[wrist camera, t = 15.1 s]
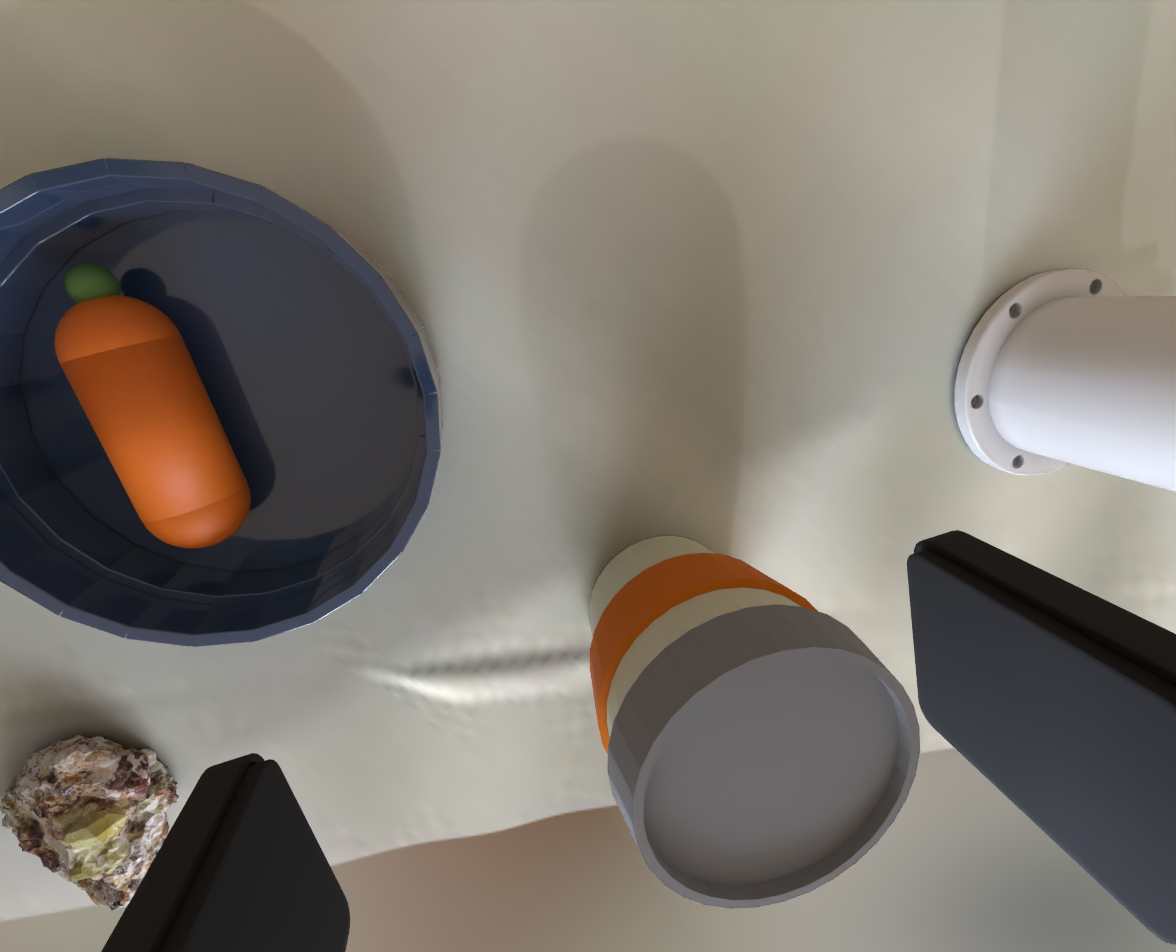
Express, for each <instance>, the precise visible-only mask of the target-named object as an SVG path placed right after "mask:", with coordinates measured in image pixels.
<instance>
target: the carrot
mask: <svg viewBox="0 0 1176 952" xmlns="http://www.w3.org/2000/svg"><path fill="white" fill-rule="evenodd" d="M64 286H65V289H66V292H67V293H68V295H69V296H70V297H71V298H72V299H73V300H74V301H75V302H76V303H78V304H76V305H74V306H73V307H72V308H71V309H70V310H68V311H67V312H66V313H65V315H64V316H63V317H62V319H61V320H60V321H59V324H58V326H57V329H56V331H55V339H54V345H55V352H56V355H57V358H58V361H59V363H60V365H61V367H62V369H63V371H64V373H65V375H66V377H67V379H68V381H69V383H70V385H71V387H72V388H73V390H74V392H75V394H76V396H77V398H78V400H79V402H80V404H81V406H82V408H83V410H84V412H85V413H86V415H87V417H88V419H89V421H90V423H91V425H92V427H93V429H94V431H95V433H96V435H97V437H98V439H99V440H100V442H101V444H102V446H103V448H104V450H105V452H106V454H107V456H108V458H109V460H110V462H111V464H112V465H113V467H114V469H115V471H116V473H117V475H118V477H119V479H120V481H121V483H122V485H123V487H124V489H125V491H126V492H127V494H128V496H129V498H130V500H131V502H132V504H133V506H134V508H135V510H136V512H137V514H138V516H139V517H140V519H141V521H142V523H143V524H144V526H145V527H146V529H147V530H148V531H150V532H151V533H152V534H153V535H154V536H155V537H157V538H158V539H160V540H162V541H163V542H165V543H167V544H170V545H173V546H176V547H182V548H204V547H208V546H212V545H215V544H218V543H220V542H222V541H224V540H226V539H227V538H229V537H231V536H232V535H233V534H234V533H235V532H236V531H237V530H238V529H239V528H240V527H241V526H242V524H243V523H244V521H245V520H246V517H247V515H248V512H249V509H250V503H251V496H250V490H249V486H248V483H247V481H246V478H245V476H244V474H243V472H242V470H241V467H240V465H239V463H238V461H237V458H236V456H235V454H234V452H233V449H232V447H231V445H230V443H229V441H228V438H227V436H226V434H225V432H224V429H223V427H222V425H221V423H220V421H219V418H218V416H217V414H216V412H215V409H214V407H213V405H212V403H211V400H210V398H209V396H208V394H207V392H206V389H205V387H204V385H203V383H202V380H201V378H200V376H199V374H198V372H197V369H196V367H195V365H194V363H193V360H192V358H191V356H190V354H189V351H188V349H187V347H186V345H185V343H184V340H183V338H182V336H181V334H180V332H179V331H178V329H177V327H176V326H175V324H174V323H173V322H172V321H171V320H170V319H169V317H168V316H166V315H165V314H164V313H163V312H161V311H160V310H159V309H157V308H156V307H154V306H152V305H151V304H149V303H147V302H144V301H142V300H139V299H136V298H132V297H128V296H123V295H120V292H121V289H120V284H119V282H118V280H117V278H116V277H115V275H114V274H113V273H112V272H111V271H109V270H108V269H106V268H104V267H102V266H100V265H97V264H92V263H82V264H78V265H75V266H73V267H72V268H70V269H69V270H68V272H67V273H66V275H65V278H64Z"/></svg>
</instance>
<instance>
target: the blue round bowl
mask: <svg viewBox="0 0 1176 952" xmlns="http://www.w3.org/2000/svg"><path fill="white" fill-rule="evenodd" d="M82 263H92V264H97V265H100V266H102V267H104V268H106V269H108V270H109V271H111V272H112V273H113V274H114V275H115V277H116V278H117V280H118V282H119V284H120V289H121V292H120V295H123V296H128V297H132V298H136V299H139V300H142V301H144V302H147V303H149V304H151V305H152V306H154V307H156V308H157V309H159V310H160V311H161V312H163V313H164V314H165V315H166V316H168V317H169V319H170V320H171V321H172V322H173V323H174V324H175V326H176V327H177V329H178V331H179V332H180V334H181V336H182V338H183V340H184V343H185V345H186V347H187V349H188V351H189V354H190V356H191V358H192V360H193V363H194V365H195V367H196V369H197V372H198V374H199V376H200V378H201V380H202V383H203V385H204V387H205V389H206V392H207V394H208V396H209V398H210V400H211V403H212V405H213V407H214V409H215V412H216V414H217V416H218V418H219V421H220V423H221V425H222V427H223V429H224V432H225V434H226V436H227V438H228V441H229V443H230V445H231V447H232V449H233V452H234V454H235V456H236V458H237V461H238V463H239V465H240V467H241V470H242V472H243V474H244V476H245V478H246V481H247V483H248V486H249V490H250V496H251V503H250V509H249V512H248V515H247V517H246V520H245V521H244V523H243V524H242V526H241V527H240V528H239V529H238V530H237V531H236V532H235V533H234V534H233V535H232V536H231V537H229V538H227V539H226V540H224V541H222V542H220V543H218V544H215V545H212V546H208V547H204V548H182V547H176V546H173V545H170V544H167V543H165V542H163V541H162V540H160V539H158V538H157V537H155V536H154V535H153V534H152V533H151V532H150V531H148V530H147V529H146V527H145V526H144V524H143V523H142V521H141V519H140V517H139V516H138V514H137V512H136V510H135V508H134V506H133V504H132V502H131V500H130V498H129V496H128V494H127V492H126V491H125V489H124V487H123V485H122V483H121V481H120V479H119V477H118V475H117V473H116V471H115V469H114V467H113V465H112V464H111V462H110V460H109V458H108V456H107V454H106V452H105V450H104V448H103V446H102V444H101V442H100V440H99V439H98V437H97V435H96V433H95V431H94V429H93V427H92V425H91V423H90V421H89V419H88V417H87V415H86V413H85V412H84V410H83V408H82V406H81V404H80V402H79V400H78V398H77V396H76V394H75V392H74V390H73V388H72V387H71V385H70V383H69V381H68V379H67V377H66V375H65V373H64V371H63V369H62V367H61V365H60V363H59V361H58V358H57V355H56V352H55V345H54V339H55V331H56V329H57V326H58V324H59V321H60V320H61V319H62V317H63V316H64V315H65V313H66V312H67V311H68V310H70V309H71V308H72V307H73V306H74V305H76V304H78V303H76V302H75V301H74V300H73V299H72V298H71V297H70V296H69V295H68V293H67V292H66V289H65V286H64V278H65V275H66V273H67V272H68V270H69V269H70V268H72V267H73V266H75V265H78V264H82ZM442 427H443V422H442V402H441V381H440V375H439V372H438V369H437V365H436V362H435V359H434V356H433V353H432V350H431V347H430V344H429V341H428V338H427V334H426V331H425V329H424V328H423V324H422V323H421V321H420V320H419V318H418V317H417V315H416V313H415V312H414V310H413V309H412V307H411V306H410V304H409V302H408V301H407V299H406V298H405V296H404V294H403V293H402V291H401V290H400V288H399V287H398V285H397V283H396V282H395V281H394V280H393V278H392V277H391V276H390V275H389V274H388V273H387V272H386V271H385V270H384V269H383V268H382V267H381V266H380V265H379V264H378V263H377V262H375V261H374V260H373V259H372V258H371V257H370V256H369V255H368V254H367V253H366V252H365V251H364V250H363V249H362V248H361V247H360V246H359V245H358V244H357V243H356V242H355V241H354V240H353V239H351V238H350V237H349V236H347V235H345V234H344V233H342V232H340V231H338V230H337V229H335V228H333V227H332V226H330V225H328V224H327V223H325V222H323V221H321V220H320V219H318V218H316V217H315V216H313V215H311V214H310V213H308V212H306V211H305V210H303V209H301V208H299V207H298V206H296V205H294V204H293V203H291V202H289V201H287V200H286V199H284V198H282V197H280V196H279V195H277V194H275V193H274V192H272V191H270V190H268V189H267V188H265V187H263V186H261V185H258V184H254V183H251V182H248V181H245V180H241V179H238V178H235V177H232V176H229V175H225V174H222V173H219V172H216V171H212V170H209V169H206V168H203V167H199V166H196V165H193V164H190V163H184V162H172V161H154V160H136V159H118V158H106V159H104V158H102V159H97V160H92V161H88V162H83V163H78V164H74V165H69V166H64V167H60V168H55V169H50V170H46V171H41V172H36V173H32V174H29V176H28V175H26V176H24V177H22V178H20V179H19V180H17V181H15V182H13V183H11V184H10V185H8V186H6V187H4V188H3V189H1V190H0V581H1V582H3V583H5V584H6V585H8V586H10V587H11V588H13V589H15V590H16V591H18V592H20V593H21V594H23V595H25V596H27V597H28V598H30V599H32V600H33V601H35V602H37V603H38V604H40V605H42V606H43V607H45V608H47V609H48V610H50V611H52V612H53V613H55V614H57V615H61V617H64V618H67V619H70V620H72V621H75V622H78V623H81V624H84V625H87V626H90V627H93V628H96V629H99V630H102V631H105V632H108V633H111V634H114V635H117V636H120V637H123V638H127V639H133V640H142V641H150V642H158V643H166V644H174V645H182V646H193V647H197V646H208V645H220V644H231V643H243V642H254V641H258V640H261V639H265V638H268V637H271V636H274V635H277V634H280V633H284V632H287V631H290V630H293V629H296V628H299V627H302V626H306V625H309V624H312V623H314V622H316V621H318V620H319V619H321V618H323V617H324V616H326V615H328V614H329V613H331V612H333V611H334V610H336V609H338V608H339V607H341V606H343V605H344V604H346V603H348V602H349V601H351V600H353V599H354V598H356V597H358V596H359V595H361V594H362V593H363V592H365V590H366V589H367V588H368V587H369V586H370V585H371V584H372V583H373V582H374V581H375V580H376V579H377V578H378V577H379V576H380V575H381V574H382V573H383V572H384V571H385V570H386V569H387V568H388V567H389V566H390V565H391V564H392V563H393V562H394V561H395V560H396V559H397V558H398V557H399V556H400V555H401V553H402V552H403V550H404V548H405V547H406V545H407V543H408V541H409V539H410V538H411V536H412V534H413V532H414V530H415V529H416V527H417V525H418V523H419V521H420V520H421V518H422V516H423V514H424V512H425V510H426V509H427V506H428V504H429V500H430V496H431V491H432V487H433V483H434V478H435V474H436V470H437V465H438V461H439V457H440V451H441V439H442Z"/></svg>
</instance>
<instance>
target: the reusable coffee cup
mask: <svg viewBox="0 0 1176 952" xmlns="http://www.w3.org/2000/svg"><path fill="white" fill-rule="evenodd" d="M589 618H590V624H591V630H592V636H593V639H592V643H591V648H590V672H591V679H592V686H593V693H594V700H595V706H596V713H597V720H598V726H599V730H600V734H601V739H602V743H603V746H604V748H605V750H606V752H607V754H608V775H609V780H610V784H611V789H612V793H613V796H614V798H615V800H616V802H617V804H618V806H619V809H620V811H621V813H622V815H623V817H624V819H625V821H626V823H627V825H628V828H629V830H630V832H631V834H632V836H633V838H634V840H635V842H636V844H637V846H638V848H639V850H640V852H641V854H642V856H643V858H644V860H645V862H646V864H647V866H648V868H649V869H650V870H651V871H652V872H653V873H654V874H655V875H656V876H657V877H658V879H659V880H660V881H661V882H662V883H663V884H664V885H666V886H667V887H669V888H670V889H672V890H673V891H675V892H676V893H678V894H679V895H681V896H683V897H685V898H688V899H690V900H693V901H696V902H699V903H702V904H704V905H710V906H717V907H724V908H751V907H760V906H765V905H770V904H775V903H780V902H784V901H786V900H789V899H792V898H794V897H797V896H800V895H803V894H805V893H808V892H810V891H812V890H814V889H816V888H818V887H819V886H821V885H823V884H825V883H827V882H829V881H831V880H832V879H834V878H835V877H837V876H838V875H840V874H841V873H842V872H844V871H845V870H847V869H848V868H849V867H851V866H852V865H854V864H855V863H856V862H857V861H858V860H859V859H860V858H861V857H862V856H864V855H865V854H866V853H867V852H868V851H869V850H870V849H871V848H872V847H873V846H874V845H875V844H876V843H877V842H878V841H879V839H880V838H881V837H882V836H883V834H884V833H885V832H886V831H887V829H888V828H889V827H890V826H891V824H892V823H893V822H894V820H895V818H896V816H897V815H898V813H899V811H900V809H901V808H902V806H903V804H904V803H905V801H906V799H907V796H908V794H909V791H910V789H911V786H912V783H913V781H914V778H915V775H916V770H917V765H918V759H919V754H920V735H919V724H918V721H917V717H916V713H915V709H914V706H913V704H912V702H911V700H910V698H909V697H908V695H907V693H906V691H905V690H904V688H903V686H902V685H901V684H900V683H899V681H898V680H897V679H896V678H895V677H894V676H893V675H892V674H891V673H890V672H889V670H888V669H887V668H886V667H885V666H884V665H883V664H882V663H881V662H880V661H879V659H878V658H877V657H876V656H875V655H874V654H873V653H872V652H871V651H870V650H869V648H868V647H867V646H866V645H865V644H864V643H863V642H862V641H861V640H860V639H859V638H858V637H857V636H856V635H855V634H854V633H853V632H852V631H851V630H850V629H849V628H848V627H847V626H845V625H844V624H842V623H840V622H839V621H837V620H836V619H834V618H832V617H831V616H829V615H827V614H824V613H821V612H818V611H817V610H816V609H815V608H814V607H813V606H812V605H811V604H810V603H809V602H808V601H807V600H806V599H805V598H803V597H802V596H800V595H798V594H797V593H795V592H793V591H792V590H790V589H788V588H787V587H785V586H783V585H782V584H780V583H778V582H777V581H775V580H773V579H772V578H770V577H768V576H767V575H765V574H763V573H762V572H760V571H758V570H756V569H755V568H753V567H751V566H750V565H748V564H746V563H745V562H743V561H741V560H738V559H735V558H732V557H729V556H726V555H722V554H716V553H714V552H712V551H711V550H709V549H708V548H706V547H704V546H703V545H701V544H699V543H698V542H696V541H693V540H690V539H687V538H684V537H677V536H658V537H653V538H649V539H645V540H642V541H640V542H638V543H635V544H633V545H631V546H629V547H627V548H626V549H625V550H623V551H622V552H620V553H619V554H618V555H616V556H615V557H614V558H613V559H612V560H611V561H610V562H609V563H608V564H607V565H606V567H605V568H604V570H603V571H602V573H601V574H600V576H599V577H598V579H597V581H596V583H595V586H594V588H593V590H592V594H591V599H590V604H589Z"/></svg>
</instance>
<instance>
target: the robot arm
mask: <svg viewBox="0 0 1176 952" xmlns="http://www.w3.org/2000/svg"><path fill="white" fill-rule="evenodd" d="M955 411H956V417H957V422H958V426H959V428H960V431H961V433H962V436H963V438H964V440H965V442H966V443H967V445H968V446H969V447H970V449H971V450H972V452H973V453H974V454H975V455H976V456H978V457H979V458H980V459H981V460H982V461H983V462H985V463H987V464H989V465H991V466H993V467H995V468H997V469H999V470H1003V471H1006V472H1009V473H1012V474H1018V475H1029V476H1031V475H1039V474H1046V473H1049V472H1052V471H1055V470H1058V469H1061V468H1063V467H1065V466H1067V465H1069V464H1075V465H1079V466H1082V467H1086V468H1090V469H1093V470H1097V471H1101V472H1105V473H1108V474H1112V475H1116V476H1119V477H1123V478H1127V479H1130V480H1134V481H1138V482H1141V483H1145V484H1149V485H1152V486H1156V487H1160V488H1164V489H1167V490H1171V491H1175V492H1176V296H1127V295H1126V294H1125V293H1124V292H1123V290H1122V289H1121V288H1120V287H1119V286H1118V285H1117V284H1116V283H1115V282H1113V281H1112V280H1110V279H1109V278H1107V277H1106V276H1104V275H1102V274H1099V273H1096V272H1093V271H1090V270H1081V269H1064V270H1051V271H1047V272H1044V273H1040V274H1037V275H1033V276H1032V277H1030V278H1028V279H1026V280H1024V281H1022V282H1020V283H1018V284H1016V285H1015V286H1014V287H1012V288H1011V289H1010V290H1008V291H1007V292H1006V293H1004V294H1003V295H1002V296H1001V297H1000V298H999V299H998V300H997V301H996V302H995V303H994V304H993V305H992V306H991V307H990V308H989V309H988V310H987V311H986V313H985V314H984V315H983V317H982V318H981V320H980V321H979V323H978V324H977V326H976V327H975V328H974V330H973V332H972V334H971V336H970V338H969V340H968V342H967V344H966V346H965V348H964V351H963V354H962V357H961V360H960V363H959V366H958V370H957V377H956V383H955ZM907 571H908V583H909V594H910V606H911V618H912V629H913V641H914V652H915V664H916V676H917V687H918V699H919V704H920V707H921V710H922V712H923V714H924V716H925V718H926V719H927V721H928V722H929V723H930V724H931V726H932V727H933V728H934V729H935V730H936V731H937V732H939V733H940V734H941V735H942V736H943V737H944V738H945V739H946V740H947V741H948V742H949V743H950V744H951V745H952V746H953V747H954V748H956V749H957V750H958V751H959V752H960V753H961V754H962V755H963V756H964V757H965V758H966V759H967V760H968V761H969V762H971V763H972V764H973V765H974V766H975V767H976V768H977V769H978V770H979V771H980V772H981V773H982V774H983V775H984V776H985V777H986V778H988V779H989V780H990V781H991V782H992V783H993V784H994V785H995V786H996V787H997V788H998V789H999V790H1000V791H1001V792H1002V793H1004V795H1006V796H1007V797H1008V798H1009V799H1010V800H1011V801H1012V802H1013V803H1014V804H1015V805H1016V806H1017V807H1018V808H1019V809H1020V810H1022V811H1023V812H1024V813H1025V814H1026V815H1027V816H1028V817H1029V818H1030V819H1031V820H1032V821H1033V822H1034V823H1035V824H1036V825H1038V826H1039V827H1040V828H1041V829H1042V830H1043V831H1044V832H1045V833H1046V834H1047V835H1048V836H1049V837H1050V838H1051V839H1052V840H1053V841H1055V842H1056V843H1057V844H1058V845H1059V846H1060V847H1061V848H1062V849H1063V850H1064V851H1065V852H1066V853H1067V854H1069V856H1070V857H1071V858H1073V859H1074V860H1075V861H1076V862H1077V863H1078V864H1079V865H1080V866H1081V867H1082V868H1083V869H1084V870H1085V871H1086V872H1087V873H1089V874H1090V875H1091V876H1092V877H1093V878H1094V879H1095V880H1096V881H1097V882H1098V883H1099V884H1100V885H1101V886H1102V887H1104V888H1105V889H1106V890H1107V891H1108V892H1109V893H1110V894H1111V895H1112V896H1113V897H1114V898H1115V899H1116V900H1117V901H1119V903H1121V905H1123V906H1124V907H1125V908H1126V909H1127V910H1128V911H1129V912H1130V913H1131V914H1132V915H1133V916H1134V917H1135V918H1136V919H1138V920H1139V921H1140V922H1141V923H1142V924H1143V925H1144V926H1145V927H1146V928H1147V929H1148V930H1149V931H1150V932H1152V933H1153V934H1154V935H1155V936H1157V937H1158V938H1160V939H1161V940H1163V941H1165V942H1166V943H1170V944H1176V634H1174V633H1172V632H1170V631H1168V630H1166V629H1164V628H1162V627H1160V626H1158V625H1156V624H1154V623H1151V622H1149V621H1147V620H1145V619H1143V618H1141V617H1139V616H1137V615H1135V614H1133V613H1131V612H1129V611H1127V610H1124V609H1122V608H1120V607H1118V606H1116V605H1114V604H1112V603H1110V602H1108V601H1106V600H1104V599H1102V598H1100V597H1098V596H1095V595H1093V594H1091V593H1089V592H1087V591H1085V590H1083V589H1081V588H1079V587H1077V586H1075V585H1073V584H1071V583H1068V582H1066V581H1064V580H1062V579H1060V578H1058V577H1056V576H1054V575H1052V574H1050V573H1048V572H1046V571H1044V570H1042V569H1039V568H1037V567H1035V566H1033V565H1031V564H1029V563H1027V562H1025V561H1023V560H1021V559H1019V558H1017V557H1015V556H1013V555H1010V554H1008V553H1006V552H1004V551H1002V550H1000V549H998V548H996V547H994V546H992V545H990V544H988V543H986V542H983V541H981V540H979V539H977V538H975V537H973V536H971V535H969V534H967V533H965V532H962V531H958V530H956V531H951V532H948V533H944V534H941V535H938V536H935V537H932V538H929V539H925V540H922V541H920V542H918V543H917V544H916V546H915V549H914V554H911V555H910V556H909V557H908V560H907ZM349 928H350V914H349V907H348V902H347V900H346V897H345V895H344V893H343V891H342V890H341V887H340V885H339V883H338V881H337V879H336V878H335V875H334V873H333V871H332V869H331V867H330V865H329V863H328V861H327V859H326V857H325V855H324V853H323V851H322V849H321V848H320V846H319V844H318V842H317V840H316V838H315V836H314V834H313V832H312V830H311V828H310V826H309V824H308V822H307V820H306V818H305V816H304V814H303V812H302V810H301V808H300V806H299V804H298V802H297V800H296V798H295V796H294V794H293V792H292V790H291V788H290V786H289V784H288V782H287V780H286V778H285V776H284V774H283V772H282V770H281V768H280V767H279V765H278V764H277V762H275V761H274V760H270V759H269V760H266V761H264V759H263V758H262V757H261V756H260V755H258V754H254V753H252V754H249V755H245V756H242V757H239V758H236V759H233V760H230V761H227V762H223V763H220V764H217V765H214V766H211V767H209V768H208V769H206V770H205V772H204V773H203V774H202V775H201V777H200V779H199V781H198V782H197V784H196V786H195V788H194V789H193V791H192V793H191V795H190V797H189V798H188V800H187V802H186V804H185V805H184V807H183V809H182V811H181V812H180V814H179V816H178V818H177V819H176V821H175V823H174V825H173V826H172V828H171V830H170V832H169V834H168V835H167V837H166V839H165V841H164V842H163V844H162V846H161V848H160V849H159V851H158V853H157V855H156V856H155V858H154V860H153V862H152V863H151V865H150V867H149V869H148V871H147V872H146V874H145V876H144V878H143V879H142V881H141V883H140V885H139V886H138V888H137V890H136V892H135V893H134V895H133V897H132V899H131V900H130V902H129V904H128V906H127V908H126V909H125V911H124V913H123V915H122V916H121V918H120V920H119V922H118V923H117V925H116V927H115V929H114V931H113V933H112V934H111V936H110V937H109V939H108V941H107V943H106V945H105V946H104V948H103V950H102V952H345V950H346V945H347V939H348V935H349Z"/></svg>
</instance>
